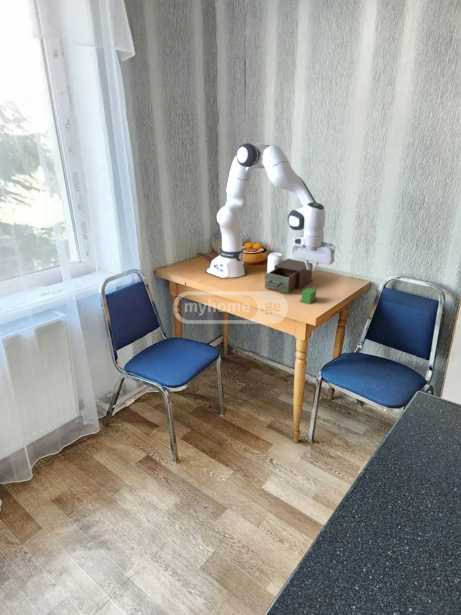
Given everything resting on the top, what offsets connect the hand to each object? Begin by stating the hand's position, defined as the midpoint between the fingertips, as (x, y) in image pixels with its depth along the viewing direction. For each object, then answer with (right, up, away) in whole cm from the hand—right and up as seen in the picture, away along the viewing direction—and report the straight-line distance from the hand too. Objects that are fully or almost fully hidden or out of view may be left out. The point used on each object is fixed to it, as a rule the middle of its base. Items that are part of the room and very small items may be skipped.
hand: (311, 269), depth 182 cm
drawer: (-12, -7, +19) cm, 24 cm away
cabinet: (-4, -3, +29) cm, 30 cm away
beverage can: (-13, +1, +39) cm, 41 cm away
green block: (0, -14, +6) cm, 15 cm away
